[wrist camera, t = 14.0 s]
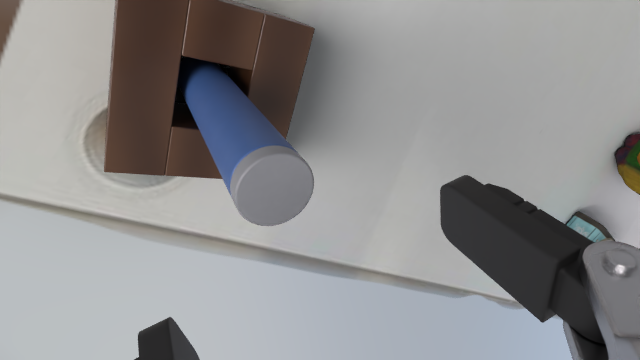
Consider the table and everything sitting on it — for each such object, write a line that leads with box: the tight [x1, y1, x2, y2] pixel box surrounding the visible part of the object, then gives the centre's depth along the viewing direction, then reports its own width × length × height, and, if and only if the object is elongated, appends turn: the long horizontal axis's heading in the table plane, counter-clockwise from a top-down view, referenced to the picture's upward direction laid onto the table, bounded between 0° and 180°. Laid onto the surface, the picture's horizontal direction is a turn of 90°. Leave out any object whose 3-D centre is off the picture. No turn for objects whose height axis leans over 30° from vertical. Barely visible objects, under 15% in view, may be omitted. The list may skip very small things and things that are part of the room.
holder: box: [104, 0, 315, 179], centre depth 24 cm, size 10×10×5 cm
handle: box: [177, 57, 314, 226], centre depth 20 cm, size 3×3×16 cm
